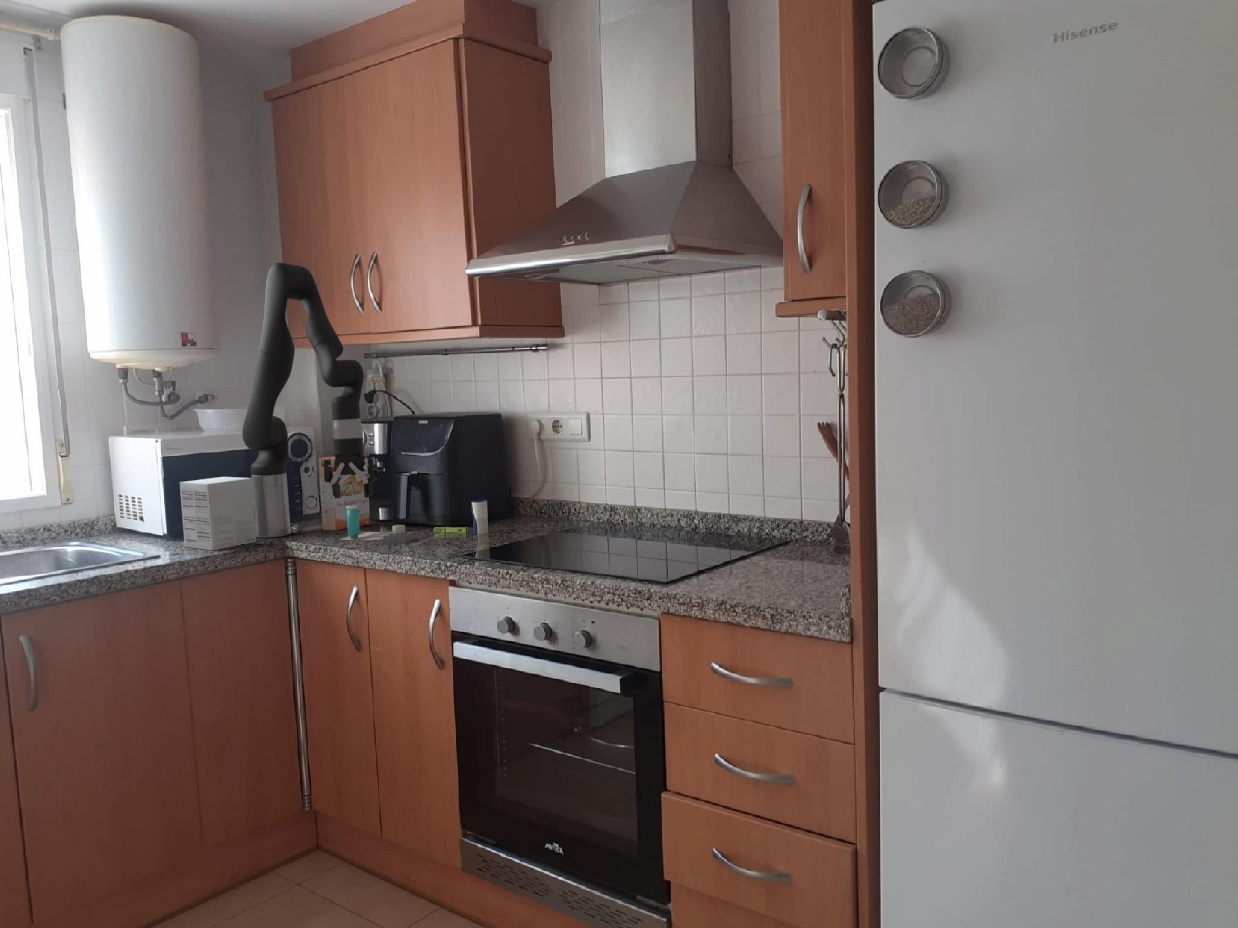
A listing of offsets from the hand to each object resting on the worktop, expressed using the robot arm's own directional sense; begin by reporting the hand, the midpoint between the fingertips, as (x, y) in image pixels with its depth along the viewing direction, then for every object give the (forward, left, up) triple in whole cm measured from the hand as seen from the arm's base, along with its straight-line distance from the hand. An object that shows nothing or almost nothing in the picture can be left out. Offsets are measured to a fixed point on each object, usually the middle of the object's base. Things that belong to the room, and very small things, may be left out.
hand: (352, 497), depth 259 cm
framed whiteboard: (+3, +4, -12) cm, 13 cm away
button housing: (+14, -4, -12) cm, 19 cm away
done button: (+14, -4, -10) cm, 18 cm away
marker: (0, 0, -11) cm, 11 cm away
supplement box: (-36, -6, -12) cm, 39 cm away
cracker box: (-13, +20, -12) cm, 27 cm away
